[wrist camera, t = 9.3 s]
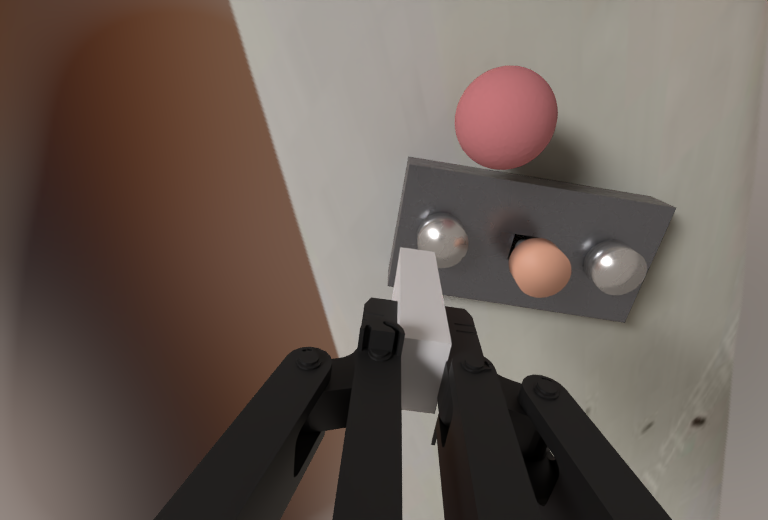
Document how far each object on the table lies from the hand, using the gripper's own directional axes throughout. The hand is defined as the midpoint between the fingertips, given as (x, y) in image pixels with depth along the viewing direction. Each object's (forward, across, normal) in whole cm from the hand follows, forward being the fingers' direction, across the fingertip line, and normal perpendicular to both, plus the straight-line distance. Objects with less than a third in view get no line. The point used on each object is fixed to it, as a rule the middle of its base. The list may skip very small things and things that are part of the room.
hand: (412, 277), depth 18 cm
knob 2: (+20, +12, -5) cm, 24 cm away
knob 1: (+23, +4, -5) cm, 24 cm away
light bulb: (+24, +6, +6) cm, 26 cm away
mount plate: (+24, +12, -6) cm, 27 cm away
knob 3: (+23, +20, -6) cm, 31 cm away
